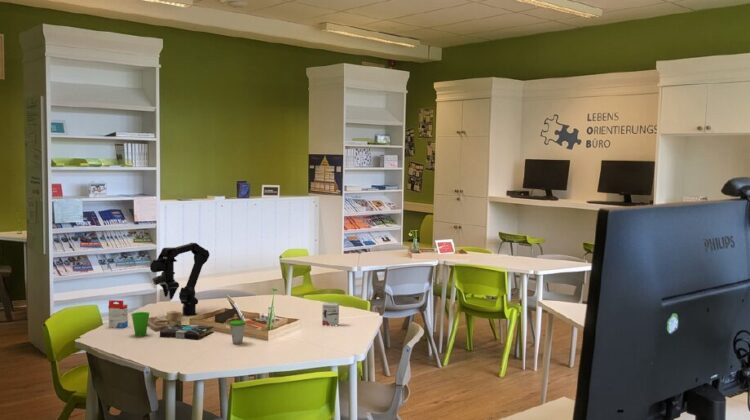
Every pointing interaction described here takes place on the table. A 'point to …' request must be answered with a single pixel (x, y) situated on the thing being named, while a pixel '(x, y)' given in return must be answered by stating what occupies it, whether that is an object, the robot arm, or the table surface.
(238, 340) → the cup
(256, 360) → the table surface
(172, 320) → the wooden mallet
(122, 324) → the ink box
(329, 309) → the ink box
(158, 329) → the board
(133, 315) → the cup
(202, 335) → the book
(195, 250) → the robot arm
